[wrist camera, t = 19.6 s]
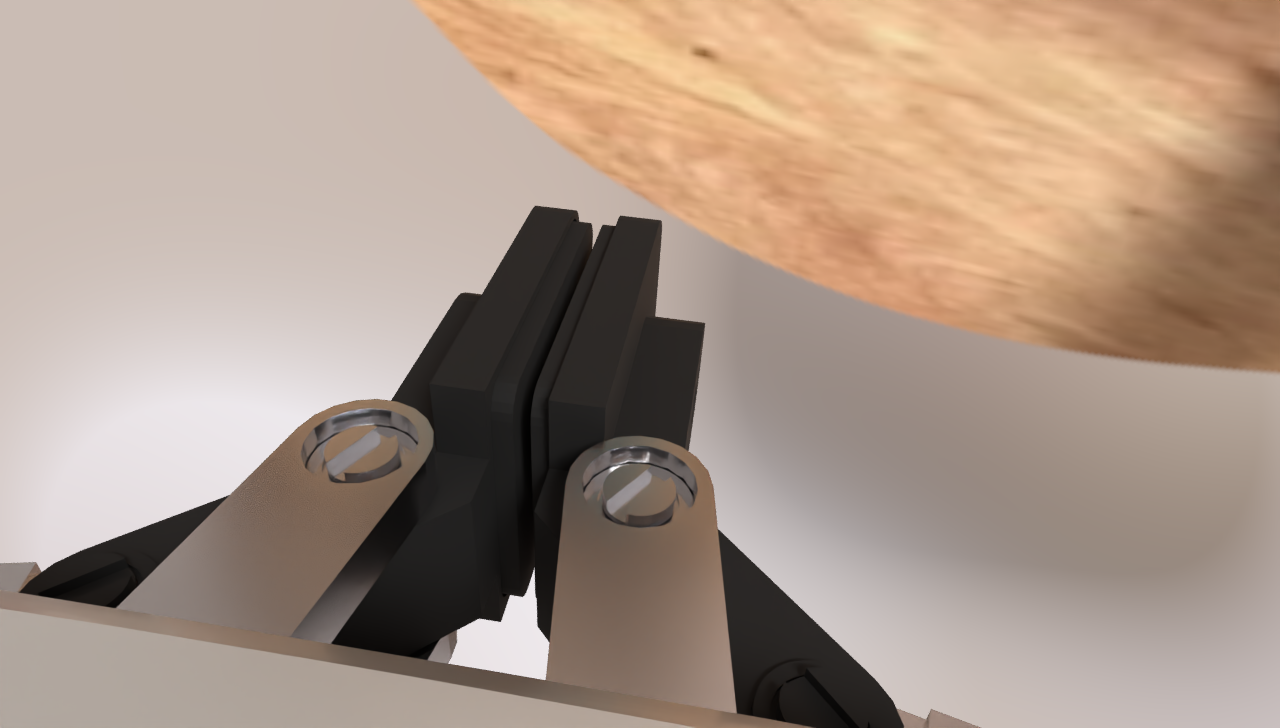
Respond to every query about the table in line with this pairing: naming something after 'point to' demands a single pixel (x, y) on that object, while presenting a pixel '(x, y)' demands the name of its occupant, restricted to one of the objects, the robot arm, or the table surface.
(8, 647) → the robot arm
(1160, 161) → the table surface
